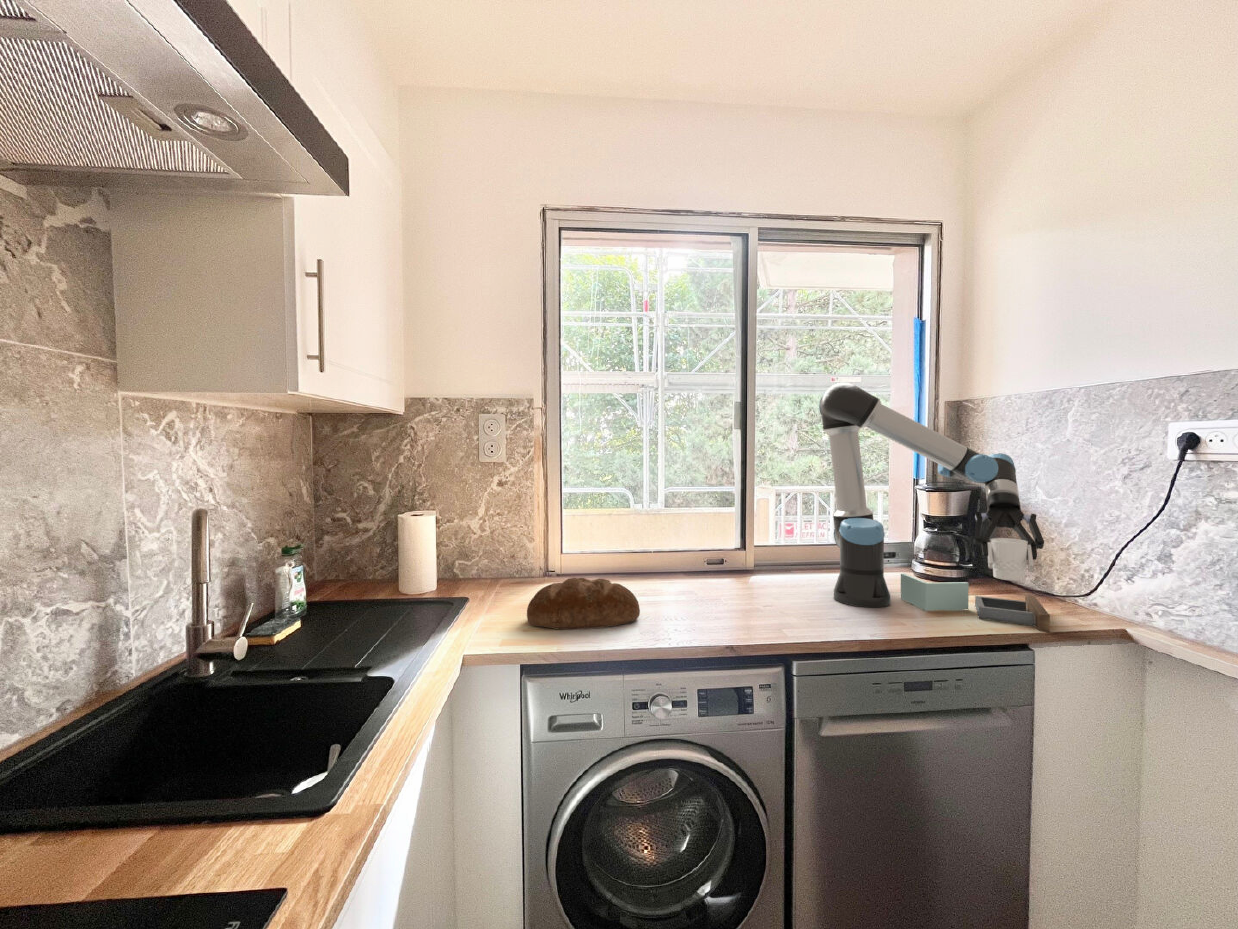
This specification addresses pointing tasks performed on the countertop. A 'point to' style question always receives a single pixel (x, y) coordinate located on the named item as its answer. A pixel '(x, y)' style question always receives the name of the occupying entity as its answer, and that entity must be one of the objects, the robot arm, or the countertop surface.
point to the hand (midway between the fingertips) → (1010, 567)
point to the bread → (582, 605)
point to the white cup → (1009, 558)
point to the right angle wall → (934, 594)
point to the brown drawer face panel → (1038, 613)
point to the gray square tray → (1004, 610)
